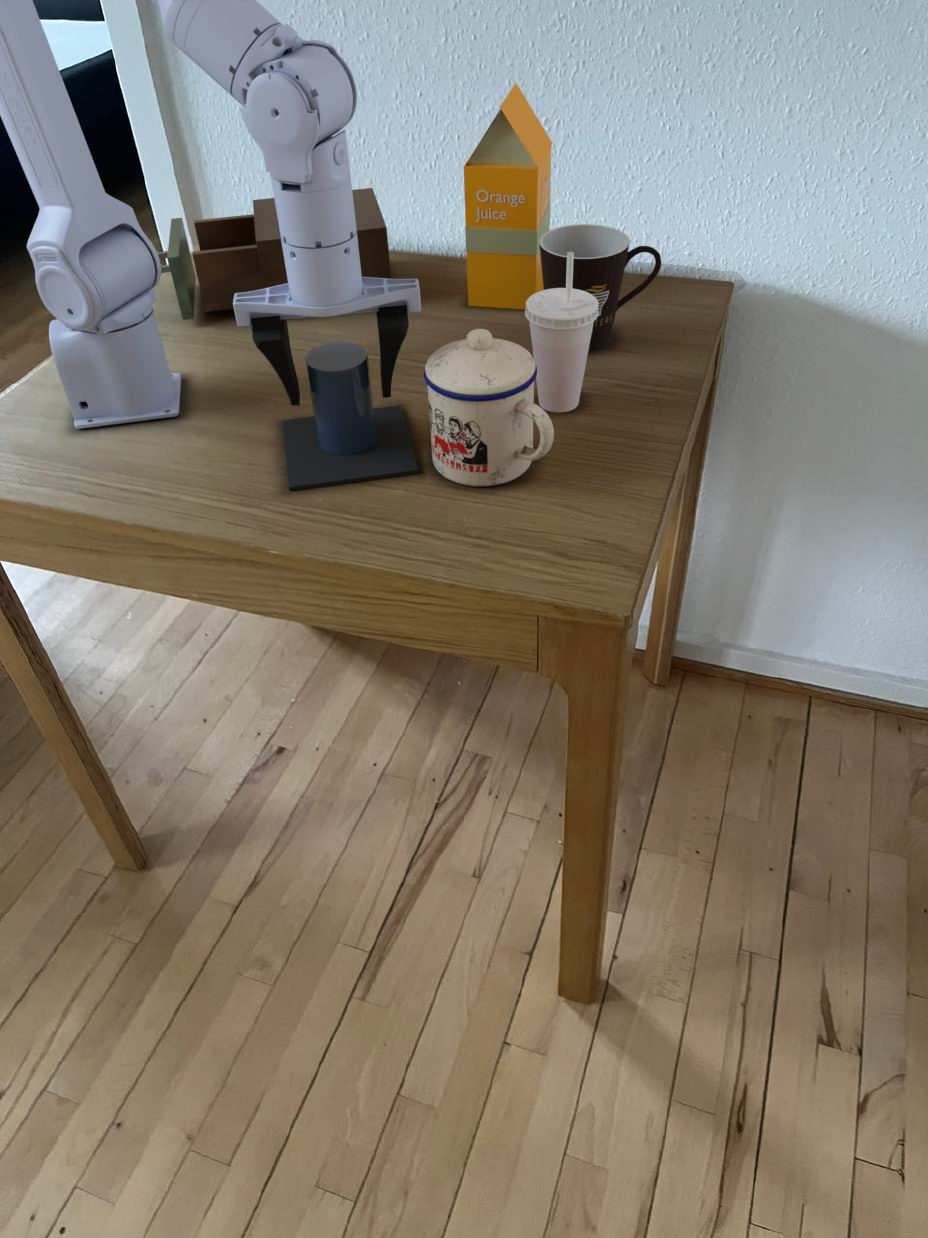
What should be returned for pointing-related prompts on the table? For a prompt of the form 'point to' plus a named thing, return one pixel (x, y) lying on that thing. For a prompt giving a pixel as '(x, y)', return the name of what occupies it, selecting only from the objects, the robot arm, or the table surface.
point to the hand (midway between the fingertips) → (341, 395)
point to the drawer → (213, 262)
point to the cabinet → (368, 236)
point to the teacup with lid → (484, 410)
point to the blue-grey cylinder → (342, 397)
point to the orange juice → (507, 207)
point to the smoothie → (561, 341)
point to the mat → (324, 468)
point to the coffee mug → (593, 269)
